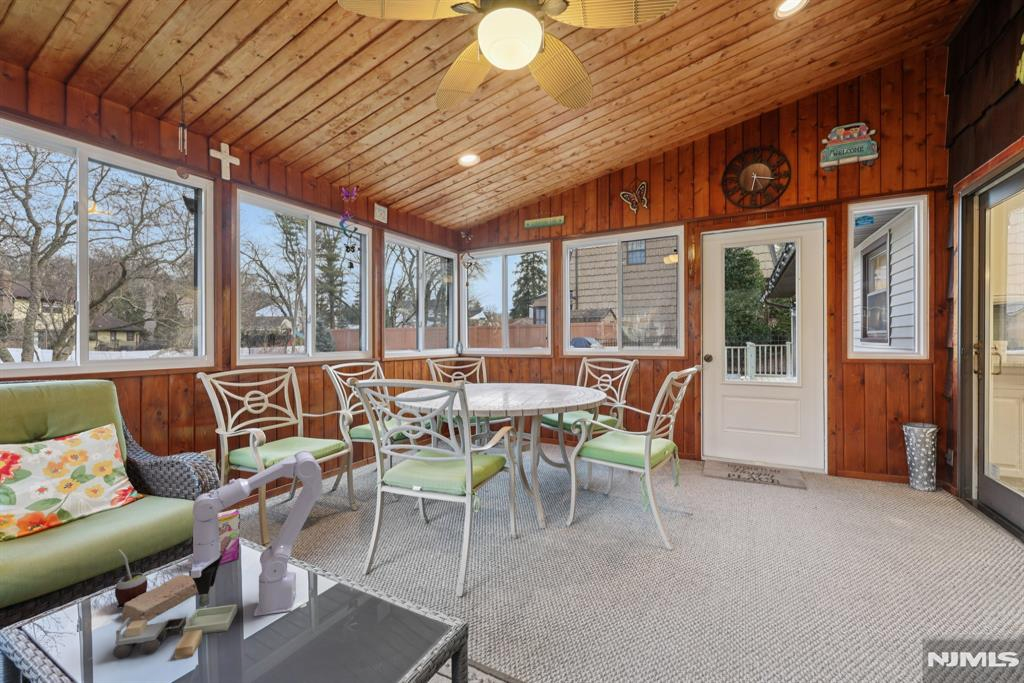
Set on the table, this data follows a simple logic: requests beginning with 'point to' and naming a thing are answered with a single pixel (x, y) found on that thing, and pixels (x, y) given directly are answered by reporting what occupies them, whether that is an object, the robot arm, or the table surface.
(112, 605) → the table surface
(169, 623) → the socket
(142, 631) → the trolley
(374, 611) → the table surface
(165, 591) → the brick
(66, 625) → the table surface
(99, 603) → the table surface
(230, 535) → the candy bar box
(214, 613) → the tray
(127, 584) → the mate gourd
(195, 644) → the block
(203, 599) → the pin
